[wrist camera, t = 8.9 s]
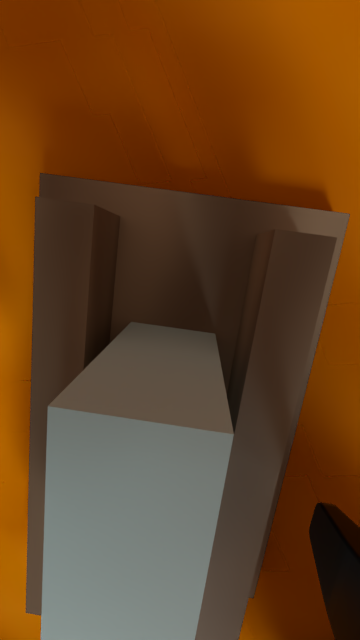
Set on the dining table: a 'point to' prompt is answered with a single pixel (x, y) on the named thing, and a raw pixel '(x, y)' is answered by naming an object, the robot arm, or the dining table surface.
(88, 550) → the pale grey block
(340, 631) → the robot arm
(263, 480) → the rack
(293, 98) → the dining table surface
